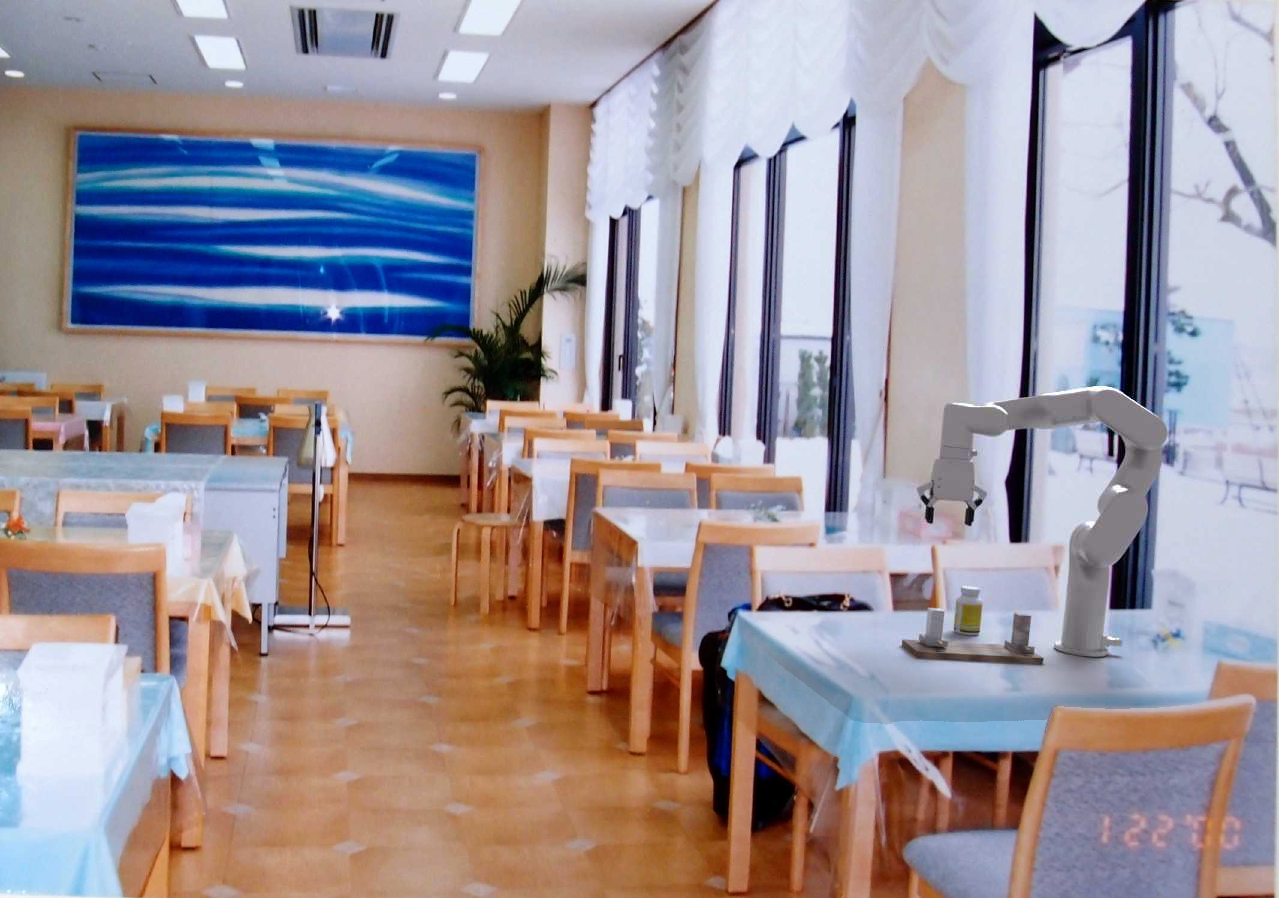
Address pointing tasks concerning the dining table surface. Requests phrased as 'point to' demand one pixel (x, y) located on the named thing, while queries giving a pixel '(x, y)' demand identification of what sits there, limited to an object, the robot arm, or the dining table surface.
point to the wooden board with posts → (984, 647)
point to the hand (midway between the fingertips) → (948, 524)
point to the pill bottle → (968, 611)
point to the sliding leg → (934, 629)
